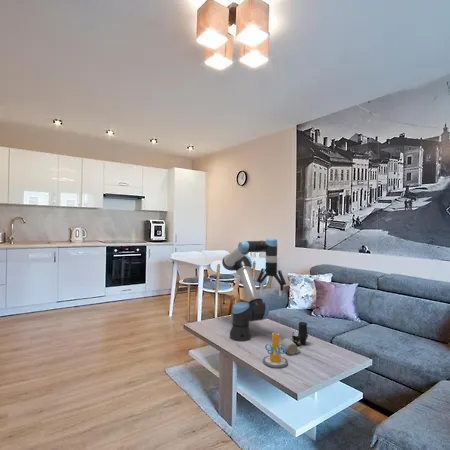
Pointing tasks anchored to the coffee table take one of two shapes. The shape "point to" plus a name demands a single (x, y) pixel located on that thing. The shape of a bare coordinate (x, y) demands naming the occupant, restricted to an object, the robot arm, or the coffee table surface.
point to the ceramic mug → (290, 346)
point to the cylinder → (275, 348)
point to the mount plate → (275, 363)
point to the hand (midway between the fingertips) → (270, 294)
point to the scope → (300, 335)
